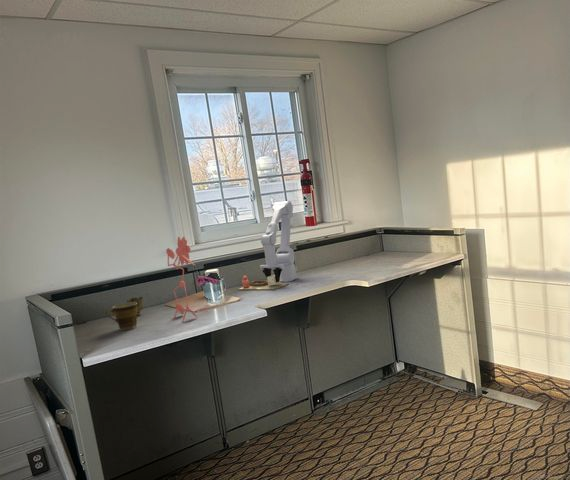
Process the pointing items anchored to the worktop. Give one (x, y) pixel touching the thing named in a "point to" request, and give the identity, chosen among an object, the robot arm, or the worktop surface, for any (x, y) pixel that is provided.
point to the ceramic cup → (125, 315)
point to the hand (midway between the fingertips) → (273, 282)
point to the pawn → (245, 282)
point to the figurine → (183, 256)
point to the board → (262, 286)
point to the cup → (139, 304)
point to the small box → (212, 272)
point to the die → (272, 280)
